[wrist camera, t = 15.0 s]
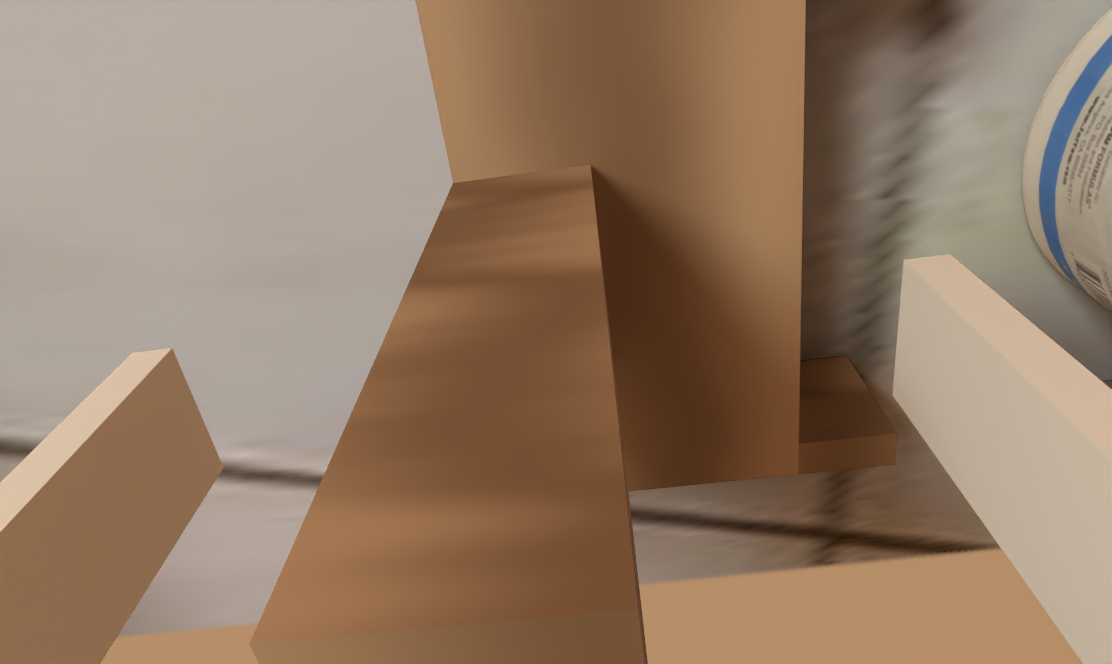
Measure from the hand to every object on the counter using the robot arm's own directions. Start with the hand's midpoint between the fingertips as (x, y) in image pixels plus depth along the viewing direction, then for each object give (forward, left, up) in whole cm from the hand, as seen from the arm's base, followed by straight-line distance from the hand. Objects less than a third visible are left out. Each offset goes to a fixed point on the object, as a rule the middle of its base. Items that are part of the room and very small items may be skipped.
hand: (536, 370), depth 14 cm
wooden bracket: (+3, 0, -8) cm, 9 cm away
